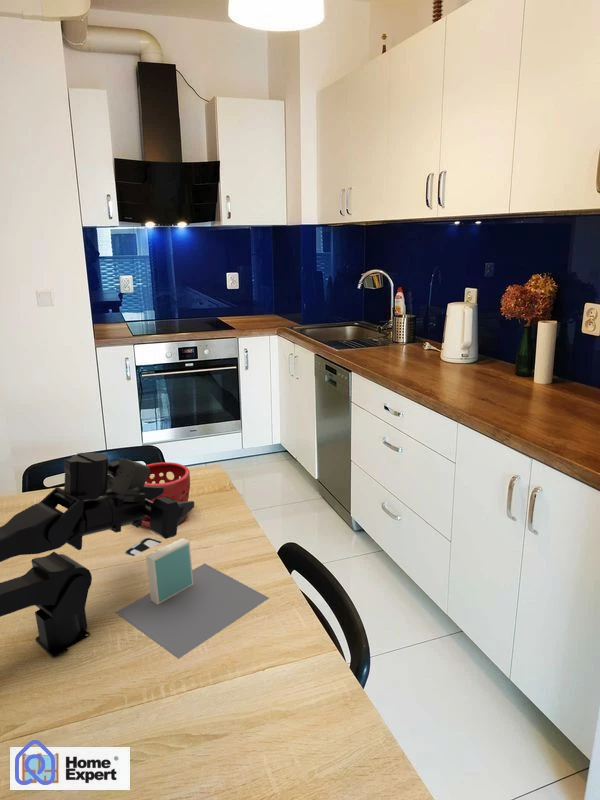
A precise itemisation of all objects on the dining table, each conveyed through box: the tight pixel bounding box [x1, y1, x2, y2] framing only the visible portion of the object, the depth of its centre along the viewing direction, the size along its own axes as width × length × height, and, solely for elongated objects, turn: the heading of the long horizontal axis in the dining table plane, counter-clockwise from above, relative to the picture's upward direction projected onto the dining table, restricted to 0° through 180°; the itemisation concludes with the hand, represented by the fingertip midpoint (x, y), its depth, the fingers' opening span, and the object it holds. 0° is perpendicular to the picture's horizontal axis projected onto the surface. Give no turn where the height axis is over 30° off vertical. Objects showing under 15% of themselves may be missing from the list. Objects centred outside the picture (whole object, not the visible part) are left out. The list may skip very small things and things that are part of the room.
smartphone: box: [124, 537, 163, 557], centre depth 119 cm, size 7×1×15 cm
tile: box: [145, 537, 193, 605], centre depth 105 cm, size 8×2×9 cm, turn 138°
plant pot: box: [142, 461, 191, 528], centre depth 133 cm, size 13×13×12 cm
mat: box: [114, 563, 270, 660], centre depth 102 cm, size 20×18×1 cm
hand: (178, 497), depth 109 cm, fingers open, 9 cm apart
